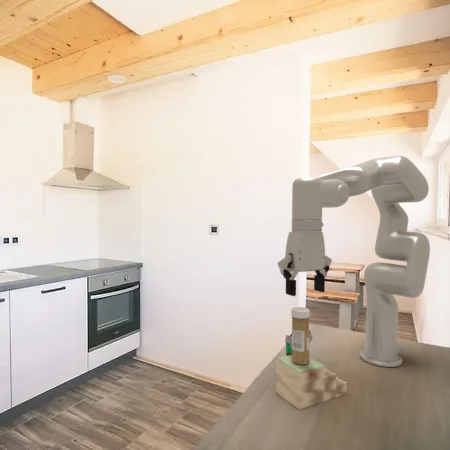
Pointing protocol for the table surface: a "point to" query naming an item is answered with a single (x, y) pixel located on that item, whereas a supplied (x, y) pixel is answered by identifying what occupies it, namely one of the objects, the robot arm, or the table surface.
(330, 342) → the table surface
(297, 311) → the spice jar
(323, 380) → the step stand
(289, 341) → the food container
